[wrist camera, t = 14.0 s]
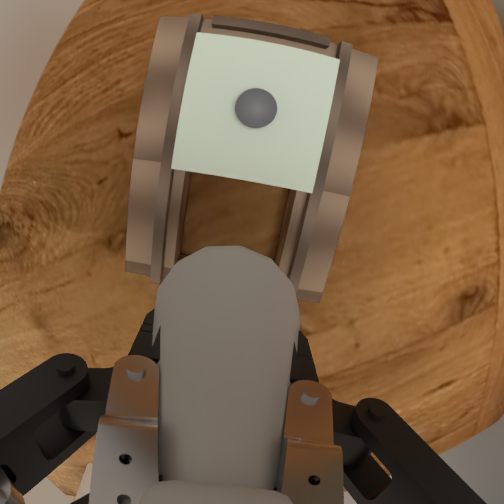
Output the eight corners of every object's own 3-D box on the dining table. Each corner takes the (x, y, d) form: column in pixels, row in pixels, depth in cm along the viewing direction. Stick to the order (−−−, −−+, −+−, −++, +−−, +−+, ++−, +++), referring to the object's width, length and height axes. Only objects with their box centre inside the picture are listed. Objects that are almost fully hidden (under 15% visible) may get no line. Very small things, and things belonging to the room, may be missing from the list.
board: (312, 286, 29) (321, 309, 25) (136, 257, 27) (121, 276, 24) (364, 64, 22) (383, 55, 18) (169, 27, 20) (157, 12, 17)
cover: (305, 186, 22) (315, 196, 19) (178, 164, 22) (167, 170, 18) (330, 66, 19) (344, 56, 16) (201, 42, 18) (194, 27, 15)
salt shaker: (241, 355, 16) (241, 609, 4) (147, 297, 15) (38, 560, 3) (316, 275, 15) (427, 569, 3) (214, 201, 13) (96, 564, 1)
